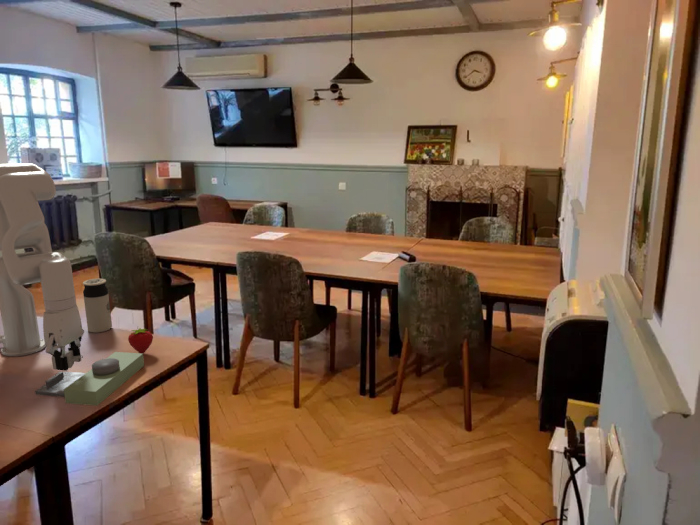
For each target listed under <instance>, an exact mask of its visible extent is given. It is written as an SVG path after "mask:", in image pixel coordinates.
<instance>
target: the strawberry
mask: <svg viewBox="0 0 700 525" xmlns="http://www.w3.org/2000/svg"><path fill="white" fill-rule="evenodd" d="M131 332H132V333H130V334H129V335H128V338H127V339H128V340H127V341H128V342H129V346H131V347H132V348H133V349H134V350H135V351H137V353H141V354H143V355H144V354H145V353H146V351H147V350H148V349H149V348H150V346H151V345H152V344H153V340H154V336H153V334H152V332H150V331H149V330H148V329H146V328H141V327H138V328H137V329H131Z"/></svg>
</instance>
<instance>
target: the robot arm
mask: <svg viewBox="0 0 700 525" xmlns="http://www.w3.org/2000/svg"><path fill="white" fill-rule="evenodd" d="M55 196H56V184H55V181H54V180H53V177H51V175H50V174H49V173H48V172H47V171H46V170H45V169H43V168H42V167H40V166H38V165H37V164H34V163H32V162H31V163H28V162H27V163H26V162H24V163H22V162H21V163H18V162H17V163H0V252H1V256H0V317H1V324H2V329H3V334H0V344H2V347H1V349H0V352H1V354H2V355H3V356H5V357H21V356H23V357H24V356H27V355H32V354H34V353H37V352H40V351H42V350H43V349H44V348H45V353H46V354H49V355H50V356H51V357H52V356H53V357H55V363H56V369H55V370H57V371H63V372H68V370H69V368H68V362H67V356H65V351H66V346H67V345H68V346H69V347H68V348H67V349H68V350H67V351H73V356H80V357H81V358H78V360H79V361H76V362H75V363H80V362H81V361H80V359H81V360H82V355H81V349H80V348H81V347H82V346H81V345H82V344H81V341H82V340H83V338H82V337H83V335H84V334H85V330H84V329H83V324H82V318H81V315H80V310H79V307H78V304H77V299H76V292H75V291H76V290H75V286H74V284H75V283H74V276H73V268H72V263H71V261H70V259H69V258H67V257H66V256H65V255H64V254H62V253H61V252H57V251H53V249H52V245H51V239H50V232H49V230H48V226H47V225H46V223H45V216H44V214H43V211H42V209H41V206H40V204H39V201H48V200H52V199H54V198H55ZM24 249H33V251H27V252H26V251H25V252H21V253H20V252H19V253H17V250H24ZM36 283H40V284H41V290H42V297H43V304H44V312H43V318H42V326H43V327H42V329H43V331H42V332H43V339H42V338H41V337H40V336H41V335H40V331H39V330H40V329H39V324H38V318H37V317H38V316H37V310H36V303H35V297H34V294H33V293H32V292H31V291H30V290H29V289H28V288H26V287H24V286H26V285H30V284H36ZM58 349H60V350H58Z"/></svg>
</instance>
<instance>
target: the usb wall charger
mask: <svg viewBox="0 0 700 525" xmlns="http://www.w3.org/2000/svg"><path fill="white" fill-rule="evenodd" d="M65 356H67V362H68V369H72V368H73V366H74V364H75V363H77V362H76V361H79V360H78V358H81V359H80V362H82V359H83V358H84V355H81V357H80V356H73V351H68V350H65ZM51 362H52V369H53V370H57V369H56V363H55V357H53V356H52V355H51Z"/></svg>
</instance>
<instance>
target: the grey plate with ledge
mask: <svg viewBox="0 0 700 525" xmlns="http://www.w3.org/2000/svg"><path fill="white" fill-rule="evenodd" d="M85 373H86V372H75V371H59V372H57V373H56V374H55V375H53V376H51V377H49V378H48V379H47V380H45V381H44V382H45V384H43V385H42V386H41V387H39V388H38V389H36V390H35V391H34V394H35V395H36V396H50V397H63V398H65V395H64V389H65V388H66V387H68V386H69V385H70V384H72V383H73V382H74V381H76V380H77V379H79V378H80V377H81V376H83V375H84V374H85Z"/></svg>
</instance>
